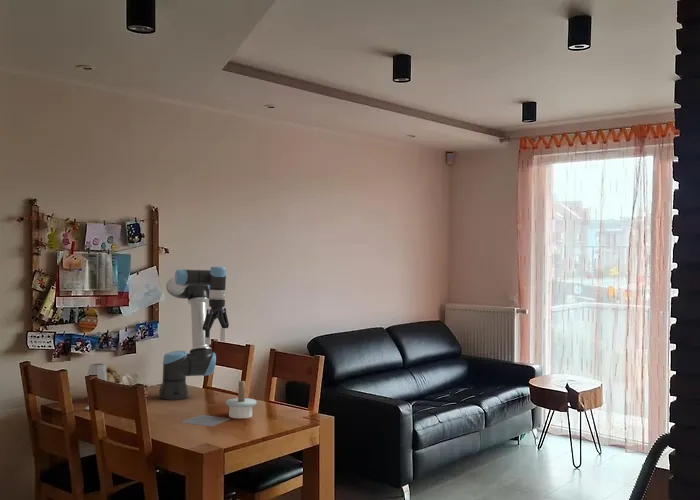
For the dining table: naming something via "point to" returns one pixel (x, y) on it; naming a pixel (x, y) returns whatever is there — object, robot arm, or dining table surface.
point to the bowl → (240, 412)
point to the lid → (241, 398)
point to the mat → (205, 420)
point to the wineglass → (97, 372)
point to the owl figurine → (112, 374)
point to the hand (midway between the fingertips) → (215, 342)
